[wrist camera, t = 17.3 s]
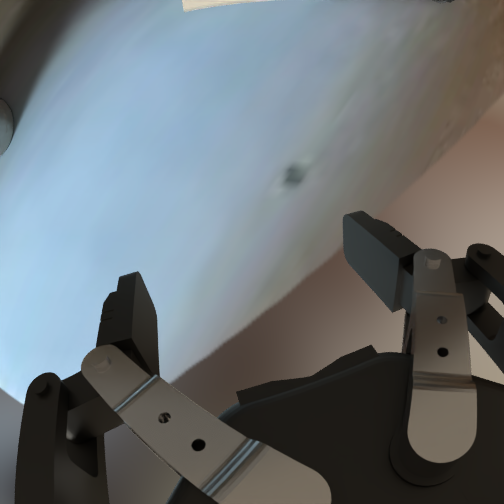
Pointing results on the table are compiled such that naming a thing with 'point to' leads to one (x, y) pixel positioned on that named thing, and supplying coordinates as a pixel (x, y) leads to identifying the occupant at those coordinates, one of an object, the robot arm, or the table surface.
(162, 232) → the table surface
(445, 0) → the cable
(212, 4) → the end holder
